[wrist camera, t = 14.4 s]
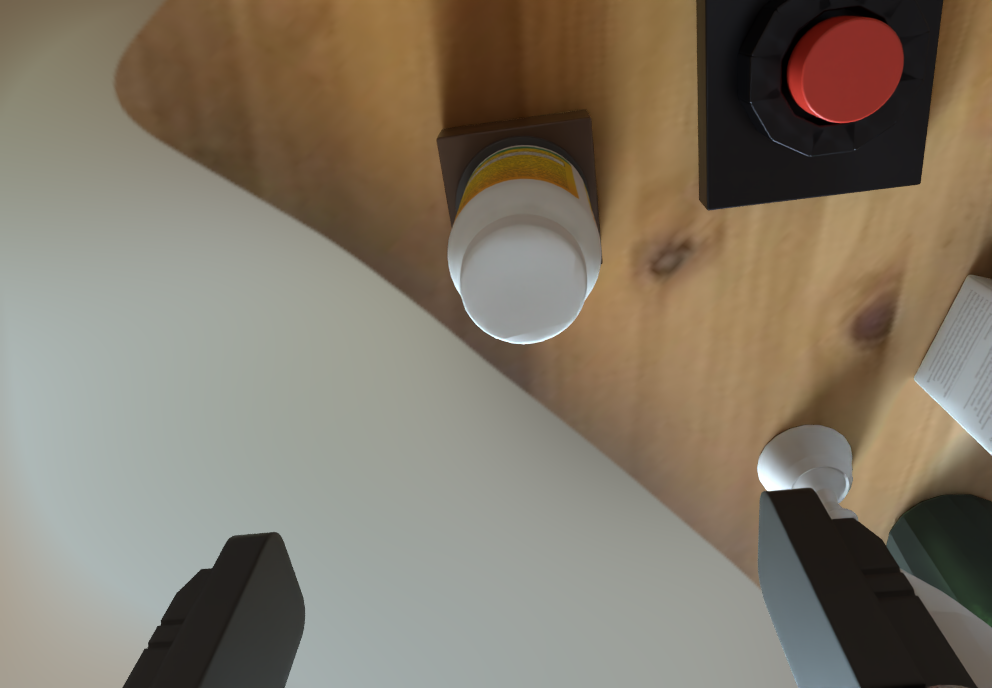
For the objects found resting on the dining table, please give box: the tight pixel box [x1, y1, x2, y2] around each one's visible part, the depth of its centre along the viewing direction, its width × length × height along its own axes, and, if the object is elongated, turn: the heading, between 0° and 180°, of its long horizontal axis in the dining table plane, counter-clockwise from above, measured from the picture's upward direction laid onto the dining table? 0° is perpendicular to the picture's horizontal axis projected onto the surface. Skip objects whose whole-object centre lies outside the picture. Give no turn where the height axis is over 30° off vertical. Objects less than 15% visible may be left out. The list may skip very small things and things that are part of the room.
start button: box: [786, 16, 904, 123], centre depth 27 cm, size 4×4×2 cm
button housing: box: [696, 0, 943, 210], centre depth 28 cm, size 11×9×4 cm
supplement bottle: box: [448, 145, 602, 344], centre depth 26 cm, size 5×5×10 cm
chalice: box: [757, 425, 992, 688], centre depth 31 cm, size 7×7×18 cm
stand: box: [437, 109, 602, 264], centre depth 32 cm, size 6×6×2 cm
